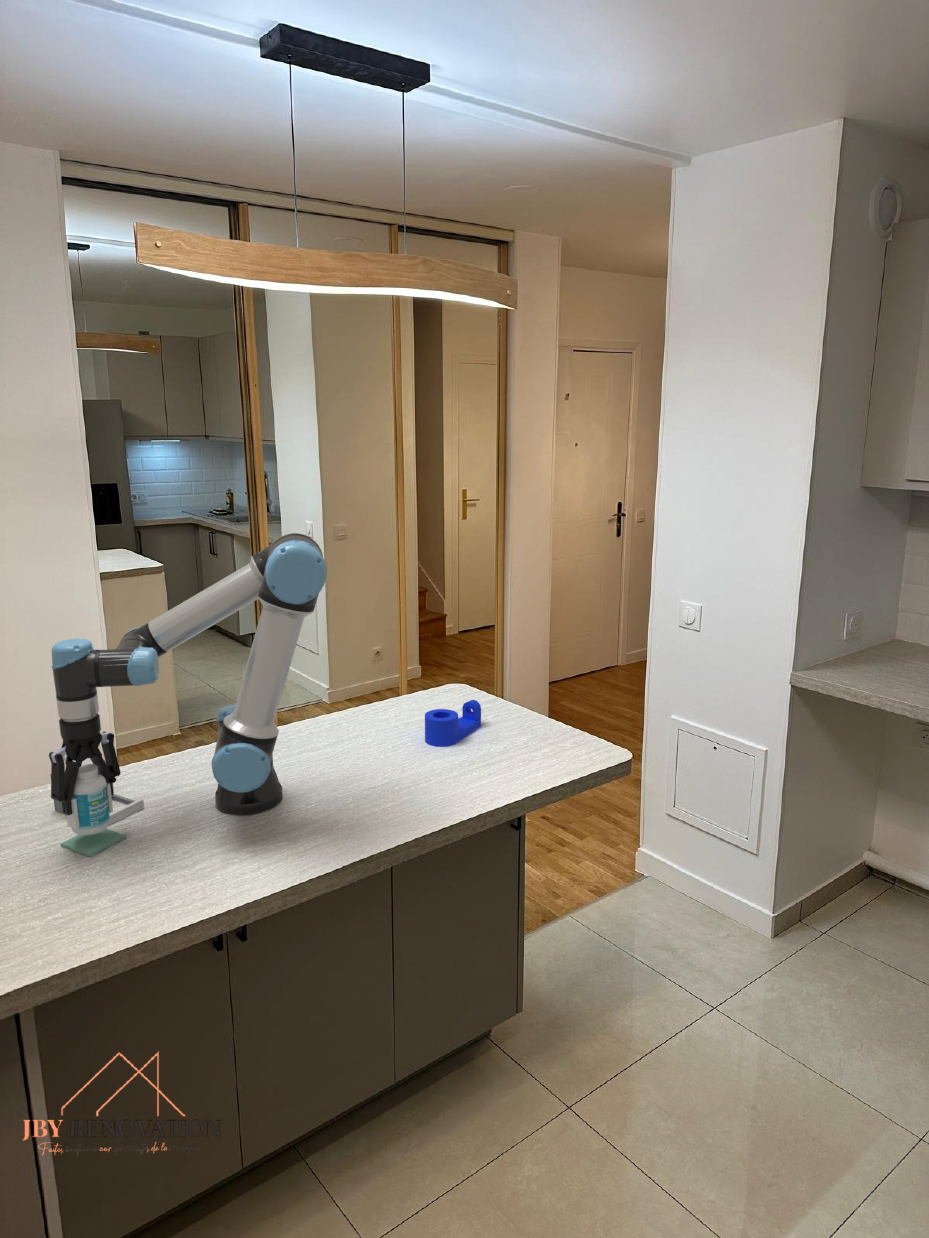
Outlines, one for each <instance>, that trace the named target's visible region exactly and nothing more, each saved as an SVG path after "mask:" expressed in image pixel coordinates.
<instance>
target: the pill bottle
mask: <svg viewBox="0 0 929 1238" xmlns="http://www.w3.org/2000/svg"><path fill="white" fill-rule="evenodd" d="M72 798H75V799H76V801H77V810H78V818H79V827H80V828H79V829H77V830H76V829H73V828H71V830H72V832H73V833H74V834H76V835H93V834H97V833H100V832H102V831H104V830H105V829H108V827H110V826H111V825H110V815H109V814H110V813H109V805H108V795H107V785H106V779H105V778H104V777H103V776H102V775H100V774H98V767H97V766H96V765H94V764H85V765H81V767H80V768H79V771H78V775H77V780H76V784H75V788H74V793H73V797H72Z"/></svg>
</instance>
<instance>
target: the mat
mask: <svg viewBox="0 0 929 1238" xmlns="http://www.w3.org/2000/svg"><path fill="white" fill-rule="evenodd" d="M125 839H127V835H126V834H122V833H120V832H117V831H115V830H111V829H110V828H109V829H108V828H107V829H105V830H104V831H102V832H100V833H97V834H93V835H78V834H76V835H75V836H73V837H71V838H69V839H66V840H65V841H63V842H61V843H60V847H63V848H64V849H66V850H70V851H72V852H75V853H77V854H80V855H82V856H86V857H88V858H91V857H94V856H95V855H96V854H98V853H100V852H102V851H104V850H106V849H108V848H110V847H112V846H113V845H116V844H117V843H119V842H121V841H123V840H125Z"/></svg>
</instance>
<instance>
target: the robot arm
mask: <svg viewBox="0 0 929 1238" xmlns="http://www.w3.org/2000/svg"><path fill="white" fill-rule="evenodd" d="M327 571H328V570H327V564H326V560H325V558H324V554H323V551H322V549H321V547H320V545H319V544H318V543H317V541H316V540H314V539H313V538H312V537H310V536H309V535H306V534H303V533H297V532H296V533H294V532H291V533H288V534H285V535H282V536H280V537H278V538H277V539H275V540H274V541H273V542H272V543H270V544H269V545H268V546H266V547H264V548H263V549H262V550H260V551H258V552H257V553H255V554H254V555H252V556H251V557H250V561H249V562H248V564H245V565H244V566H243V567H241V568H239V569H237V570H236V571H234V572H232V573H231V574H229V575H227V576H225V577H224V578H222V579H220V580H218V581H217V582H215V583H213V584H212V585H209V586H208V587H207V588H205V589H203V590H201V591H200V592H198V593H197V594H195V595H193V596H191V597H190V598H187V599H186V600H184V601H183V602H182V603H179V604H178V605H176V606H174V607H172V608H170V609H169V610H167V611H165V612H164V613H162V614H160V615H158V616H157V617H155V618H154V619H152V620H150V621H148V622H147V623H145V624H143V625H141V626H140V627H135V628H132V629H130V630H129V631H127V632H126V633H125V634H123V637H122V638H121V639H120V642H119V644H118V645H117V647H116V648H111V649H94V646H93V643H92V641H90V639H89V640H88V639H87V638H71V639H65V640H61V641H58V642H56V643H55V644H54V645H53V646H52V647H51V663H52V665H51V669H52V675H53V680H54V681H53V682H54V688H55V696H56V706H57V715H58V718H59V720H58V724H59V733H60V736H61V739H62V744H61V748H60V749H58V750H56V751H51V752H49V753H48V757H49V759H50V760H49V761H50V763H51V764H50V766H51V769H50V770H51V771H50V774H51V776H50V798H51V799H52V800H53V801H54V800H57V801H60V802H62V809H63V813H64V814H63V815H65V816H66V823H67V827H69V828H71V829H72V828H73V829H76V830H77V829H79V828H80V827H79V818H78V810H77V801H76V799H75V798H72V797H73V793H74V788H75V784H76V780H77V775H78V771H79V768H80V767H81V765H82V761H84V760H86V759H87V758H90V759H91V761H92V763H93V764H94V765H96V766H97V767H98V773H99V774H100V775H102V776H103V777H104V778H105V779H106V785H107V795H108V805H109V814H110V813H112V812H114V807H113V800H112V795H113V794H114V793H115V791H114V783H116V781H117V777H119V776H120V775H121V768H120V764H119V761H118V760H119V759H118V757H117V752H116V747H115V734H114V733H111V732H108V731H103V732H101V730H102V725H101V716H100V714H99V712H100V708H99V705H100V704H99V697H98V690H97V688H105V687H107V688H108V687H109V688H110V687H129V686H135V687H141V686H145V685H152V684H155V683H156V682H157V681H158V678H159V671H160V670H159V667H160V666H159V665H160V664H159V658H160V657H161V656H164V655H165V654H166V653H168V652H171V650H173V649H174V648H176V647H177V648H178V646H180V645H182V644H183V643H185V642H187V641H189V640H190V639H192V638H195V636H197V635H199V634H200V633H201V634H202V632H204V631H206V630H207V629H209V628H211V627H213V626H214V625H216V624H218V623H219V622H221V621H223V620H225V619H227V618H228V617H230V616H231V615H233V614H235V613H236V612H238V611H240V610H242V609H244V608H245V607H247V606H248V605H249V606H250V604H252V603H254V602H255V601H257V600H259V602H260V604H261V606H262V607H261V608H262V609H261V613H260V616H259V619H258V624H257V627H256V630H255V634H254V639H253V641H252V645H251V648H250V652H249V656H248V659H247V661H246V662H247V663H246V667H245V669H244V673H243V677H242V679H241V680H242V681H241V685H240V688H239V691H238V695H237V699H236V702H235V704H234V703H233V704H230V705H225V706H223V707H221V708H220V709H218V711H217V713H216V714H217V717H216V723H217V739H216V744H215V750H214V753H213V754H214V755H213V757H212V759H211V770H212V775H213V778H214V779H215V780H216V782H217V789H216V790H215V793H214V798H215V799H214V800H215V806H216V808H217V809H218V810H219V811H220V812H222V813H225V814H229V815H232V816H235V815H236V816H249V815H255V814H260V813H265V812H266V811H269V810H272V809H273V808H275V807H277V806H278V805H280V804H281V803H282V800H283V797H284V796H283V795H284V794H283V786H282V784H281V782H280V780H279V777H278V775H277V772H276V770H275V767H274V757H273V756H274V755H273V753H274V750H275V746H276V743H277V740H278V736H279V732H280V730H279V728H278V726H277V725H276V723H275V720H276V716H277V714H278V710H279V706H280V703H281V700H282V696H283V692H284V689H285V685H286V682H287V679H288V675H289V672H290V668H291V664H292V661H293V658H294V654H295V650H296V648H297V643H298V641H299V638H300V637H299V636H300V634H301V630H302V626H303V622H304V619H305V617H307V616H310V615H311V614H313V613H314V611H315V608H316V605H317V602H318V598H319V594H320V593H321V591H322V589H323V588H324V586H325V584H326V580H327V573H328V572H327ZM100 745H101V748H102V752H101V749H100V748H99V747H100ZM102 753H103V754H102ZM65 756H66V757H65ZM103 757H104V758H103ZM104 760H105V761H106V763H105V761H104ZM65 765H66V769H65Z"/></svg>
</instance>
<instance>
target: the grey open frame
mask: <svg viewBox="0 0 929 1238" xmlns="http://www.w3.org/2000/svg"><path fill="white" fill-rule="evenodd" d="M104 761H105V759H104ZM105 763H106V761H105ZM85 764H93V763H92V761H91V759H90V758H87V759H86V760H84V761H82V765H85ZM65 769H66V766H65ZM49 774H50V777H51V773H49ZM98 774H99V773H98ZM112 801H114V802H118V803H121V804H125V805H124V806H122V807H120V808H119V809H116V810H113V812H112V813H109V815H110V825H109V826H111V825H112V824H115V823H117V822H119V821H120V820H122V819H125V818H127V817H128V816H130V815H133V814H135V813H136V812H139V811H141V810H143V809H144V808H145V802H144V799H143V798H139V799H137V800H133V799H130V798H128V797H124V796H121V795H118V794H114V793H113V795H112ZM53 804H54V811H55V812H57V813H59V814H62V815H65V814H64V813H63V809H62V802H60V801H57V800H54V799H53Z"/></svg>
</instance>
